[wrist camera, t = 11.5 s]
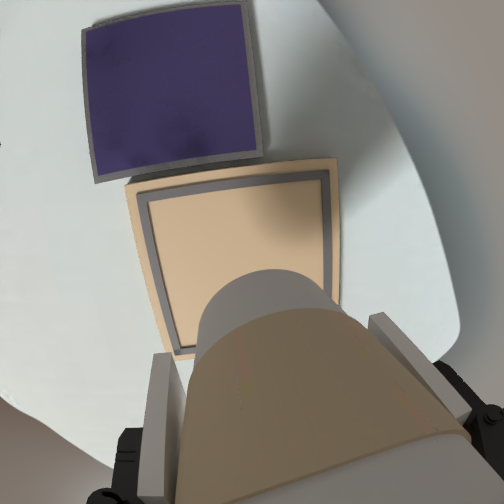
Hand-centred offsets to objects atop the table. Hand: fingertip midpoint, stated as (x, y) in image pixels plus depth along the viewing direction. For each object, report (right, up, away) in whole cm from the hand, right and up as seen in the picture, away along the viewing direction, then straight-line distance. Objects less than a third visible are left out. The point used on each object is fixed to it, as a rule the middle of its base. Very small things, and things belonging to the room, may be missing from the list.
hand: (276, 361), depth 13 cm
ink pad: (-6, +15, +5) cm, 17 cm away
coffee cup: (0, +1, +2) cm, 2 cm away
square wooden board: (-2, +4, +10) cm, 11 cm away
